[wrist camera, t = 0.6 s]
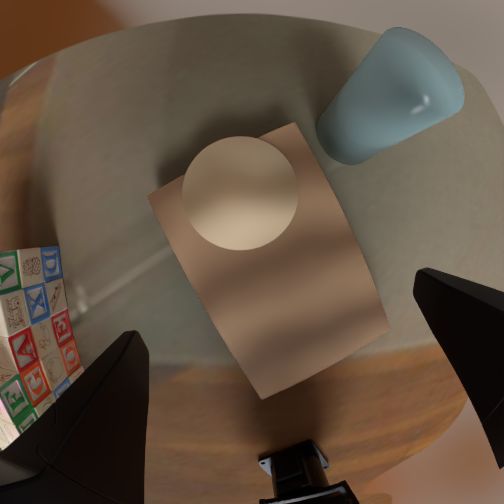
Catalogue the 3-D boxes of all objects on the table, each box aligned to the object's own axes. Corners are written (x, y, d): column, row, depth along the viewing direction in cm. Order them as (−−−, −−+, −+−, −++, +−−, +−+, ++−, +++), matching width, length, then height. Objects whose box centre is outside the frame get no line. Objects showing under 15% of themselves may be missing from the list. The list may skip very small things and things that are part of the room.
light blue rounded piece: (383, 152, 22) (477, 105, 9) (336, 174, 22) (425, 125, 9) (354, 100, 21) (424, 26, 9) (305, 118, 21) (359, 30, 9)
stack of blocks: (21, 249, 21) (-65, 260, 9) (60, 244, 21) (-37, 255, 9) (67, 422, 23) (21, 479, 10) (107, 431, 23) (66, 501, 11)
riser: (374, 318, 23) (392, 330, 20) (259, 381, 23) (262, 401, 20) (282, 125, 21) (288, 109, 18) (153, 190, 21) (139, 183, 18)
